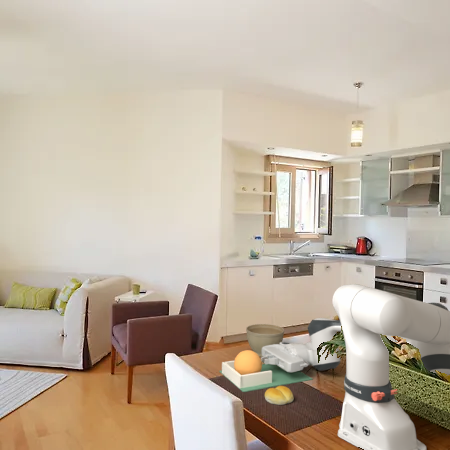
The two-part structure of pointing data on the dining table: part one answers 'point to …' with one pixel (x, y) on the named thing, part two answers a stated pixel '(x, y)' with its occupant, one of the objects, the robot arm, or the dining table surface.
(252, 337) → the planter bowl
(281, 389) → the bread roll
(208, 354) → the dining table surface
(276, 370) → the putting mat
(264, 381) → the white open box
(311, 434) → the dining table surface
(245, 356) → the ball
